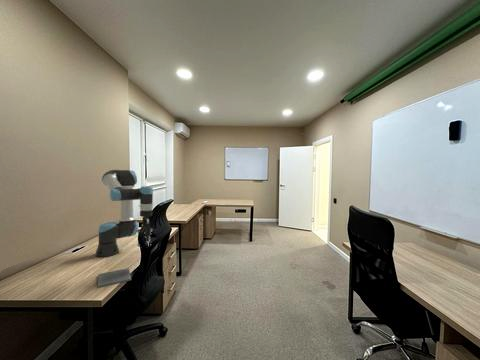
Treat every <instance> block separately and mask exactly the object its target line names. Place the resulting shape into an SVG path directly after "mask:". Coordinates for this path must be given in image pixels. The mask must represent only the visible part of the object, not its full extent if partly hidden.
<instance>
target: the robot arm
mask: <svg viewBox="0 0 480 360" xmlns="http://www.w3.org/2000/svg"><path fill="white" fill-rule="evenodd" d="M101 181H102V183H103V184H104V185H105V186H107V188H108V189H109V191H110V193H109V198H110V201H112V202H120V219H119V220H118V222H116V221H108V222H105V223H102V224H100V225H99V227H98V231H97V232H98V245H97V247H96V250H95V257H97V258H107V257H113V256H116V255H118V254H119V253H120V248H119V246H118V244H117V240H118V239H123V238H130V237H134V236H136V235H137V234H138V232H137V230H138V229H139V224H138V221H137V220H136V219H135V217H134V201H136V200H137V201H138V200H139V204H140V205H138V207H139V210H140V211H139V216H140V217H141V218H142V224H141V225H143V224H144V226H145V236H144V237H145V238H146V242H147V243H148V247H150V246H149V239H150V240H151V236H150V228H151V220H150V219H151V218H150V217H152V216H153V209H154V207H153V206H154V205H153V203H154V202H153V196H154V194H153V193H154V192H153V191H154V190H153V189H154V188H153V187H152V186H145V185H143V186H140V187H138V188H135V185H137V183H138V177H137V174H136V172H135V171H134V170H131V169H130V170H129V169H112V170H108V171H106V172H105V173H104V174H103V175H102V177H101ZM145 221H146V222H145Z"/></svg>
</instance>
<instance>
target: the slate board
mask: <svg viewBox="0 0 480 360" xmlns="http://www.w3.org/2000/svg"><path fill="white" fill-rule="evenodd" d="M128 281H132V276H131V272H130V268H129V267H128V268H123V269H121V268H120V269H117V270H113V271H106V272H102V273H101V272H100V273H98V277H97V288H103V287H107V286H111V285H115V284H120V283H124V282H128Z"/></svg>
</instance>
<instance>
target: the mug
mask: <svg viewBox="0 0 480 360" xmlns="http://www.w3.org/2000/svg"><path fill="white" fill-rule="evenodd" d="M141 229H142V228H140V229H139V228H138V230H137V234H138V236H139V232H140V230H141ZM151 232H153V228H151V227H150V235H152V233H151ZM144 234H145V232H144ZM150 241H151V238H150V239H149V242H150ZM136 246H137V247H139V248H141V247H140V245H139V241H138V242H137V245H136ZM150 246H152V244H150Z"/></svg>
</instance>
